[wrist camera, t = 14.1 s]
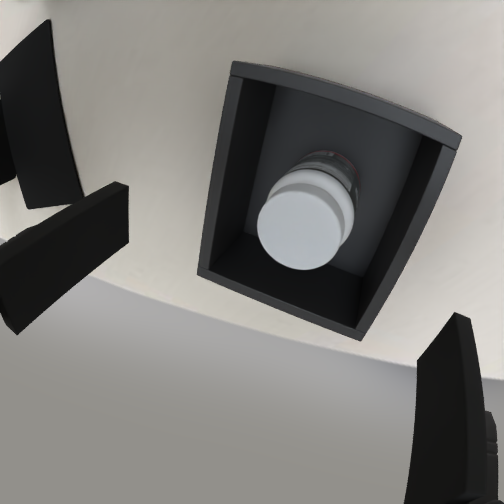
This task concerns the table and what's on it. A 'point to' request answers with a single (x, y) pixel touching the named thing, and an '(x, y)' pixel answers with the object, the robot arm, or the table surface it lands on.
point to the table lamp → (35, 125)
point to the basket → (287, 156)
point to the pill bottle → (310, 211)
